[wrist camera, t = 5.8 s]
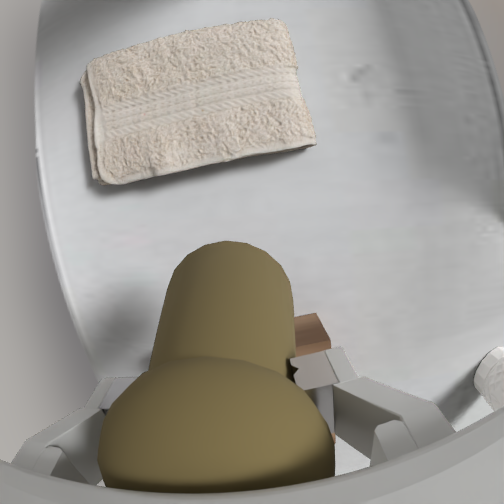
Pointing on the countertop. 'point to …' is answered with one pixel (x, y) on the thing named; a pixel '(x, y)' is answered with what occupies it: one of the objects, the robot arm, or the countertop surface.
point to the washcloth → (194, 101)
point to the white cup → (491, 378)
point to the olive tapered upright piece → (218, 387)
